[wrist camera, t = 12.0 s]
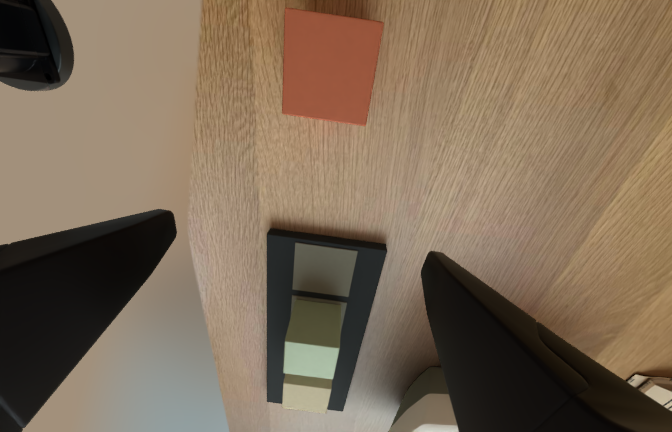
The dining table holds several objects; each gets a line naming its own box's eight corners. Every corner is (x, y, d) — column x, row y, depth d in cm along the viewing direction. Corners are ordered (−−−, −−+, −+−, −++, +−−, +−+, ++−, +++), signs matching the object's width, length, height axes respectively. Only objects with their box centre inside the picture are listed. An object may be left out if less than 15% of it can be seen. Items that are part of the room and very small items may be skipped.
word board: (269, 393, 33) (255, 444, 29) (270, 227, 21) (247, 269, 17) (343, 403, 34) (341, 455, 29) (385, 244, 22) (395, 289, 17)
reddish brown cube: (297, 107, 17) (281, 114, 13) (301, 27, 15) (284, 6, 11) (362, 116, 17) (365, 126, 13) (375, 38, 15) (384, 21, 11)
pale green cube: (293, 329, 26) (282, 373, 22) (295, 298, 24) (284, 341, 20) (335, 335, 26) (333, 380, 22) (341, 304, 24) (339, 348, 20)
